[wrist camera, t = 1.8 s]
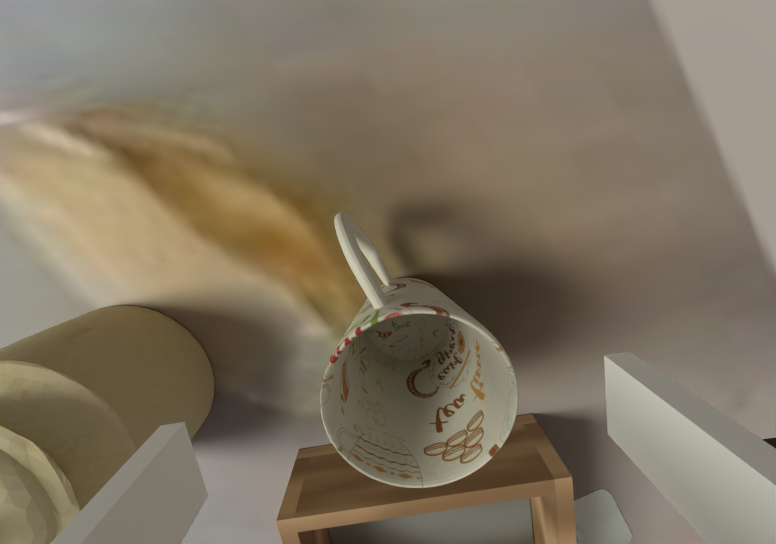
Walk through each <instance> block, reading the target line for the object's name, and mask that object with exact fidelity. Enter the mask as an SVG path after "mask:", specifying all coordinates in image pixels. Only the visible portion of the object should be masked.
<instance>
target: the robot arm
mask: <svg viewBox="0 0 776 544" xmlns="http://www.w3.org/2000/svg"><path fill="white" fill-rule="evenodd" d="M604 365H605V387H606V409H607V430H608V435H609V436H610V437H611V438H612V439H613V440H614V442H615V443H616V444H617V445H618V446H619V447H620V448H621V449H622V450H623V451H624V453H625V454H626V455H627V456H628V457H629V458H630V459H631V460H632V461H633V462H634V464H635V465H636V466H637V467H638V468H639V469H640V470H641V471H642V472H643V473H644V475H645V476H646V477H647V478H648V479H649V480H650V481H651V482H652V483H653V484H654V485H655V487H656V488H657V489H658V490H659V491H660V492H661V493H662V494H663V495H664V496H665V498H666V499H667V500H668V501H669V502H670V503H671V504H672V505H673V506H674V507H675V509H676V510H677V511H678V512H679V513H680V514H681V515H682V516H683V517H684V518H685V520H686V521H687V522H688V523H689V524H690V525H691V526H692V527H693V528H694V529H695V531H696V532H697V533H698V534H699V535H700V536H701V537H702V538H703V539H704V540H705V541H706V543H707V544H776V438H770V439H763V440H762V439H760V438H759V437H757V436H756V435H754V434H753V433H751V432H750V431H748V430H747V429H745V428H744V427H742V426H741V425H739V424H738V423H736V422H735V421H733V420H732V419H730V418H729V417H727V416H726V415H724V414H723V413H721V412H720V411H718V410H717V409H715V408H714V407H712V406H711V405H709V404H708V403H706V402H705V401H703V400H702V399H700V398H699V397H697V396H696V395H694V394H693V393H691V392H690V391H688V390H687V389H685V388H684V387H682V386H681V385H679V384H678V383H676V382H675V381H673V380H672V379H670V378H669V377H667V376H666V375H664V374H663V373H661V372H660V371H658V370H657V369H655V368H654V367H652V366H651V365H649V364H648V363H646V362H645V361H643V360H642V359H640V358H639V357H637V356H636V355H634V354H633V353H631V352H630V351H628V352H621V353H615V354H609V355H604ZM207 496H208V494H207V491H206V488H205V484H204V481H203V478H202V475H201V472H200V469H199V466H198V463H197V460H196V456H195V453H194V450H193V447H192V444H191V441H190V438H189V435H188V431H187V428H186V425H185V422H180V423H174V424H167V425H161V426H160V427H159V428H158V429H157V430H156V431H155V432H154V433H153V434H152V435H151V436H150V437H149V439H148V440H147V441H146V442H145V443H144V444H143V445H142V446H141V447H140V448H139V449H138V450H137V451H136V452H135V453H134V455H133V456H132V457H131V458H130V459H129V460H128V461H127V462H126V463H125V464H124V465H123V466H122V467H121V468H120V469H119V471H118V472H117V473H116V474H115V475H114V476H113V477H112V478H111V479H110V480H109V481H108V482H107V483H106V484H105V485H104V487H103V488H102V489H101V490H100V491H99V492H98V493H97V494H96V495H95V496H94V497H93V498H92V499H91V500H90V501H89V503H88V504H87V505H86V506H85V507H84V508H83V509H82V510H81V511H80V512H79V513H78V514H77V515H76V516H75V517H74V519H73V520H72V521H71V522H70V523H69V524H68V525H67V526H66V527H65V528H64V529H63V530H62V531H61V532H60V534H59V535H58V536H57V537H56V538H55V539H54V540H53V541H52V542H51V543H50V544H181V542H182V540H183V538H184V537H185V535H186V533H187V531H188V530H189V528H190V526H191V524H192V523H193V521H194V519H195V517H196V516H197V514H198V512H199V510H200V509H201V507H202V505H203V503H204V502H205V500H206V498H207Z"/></svg>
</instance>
